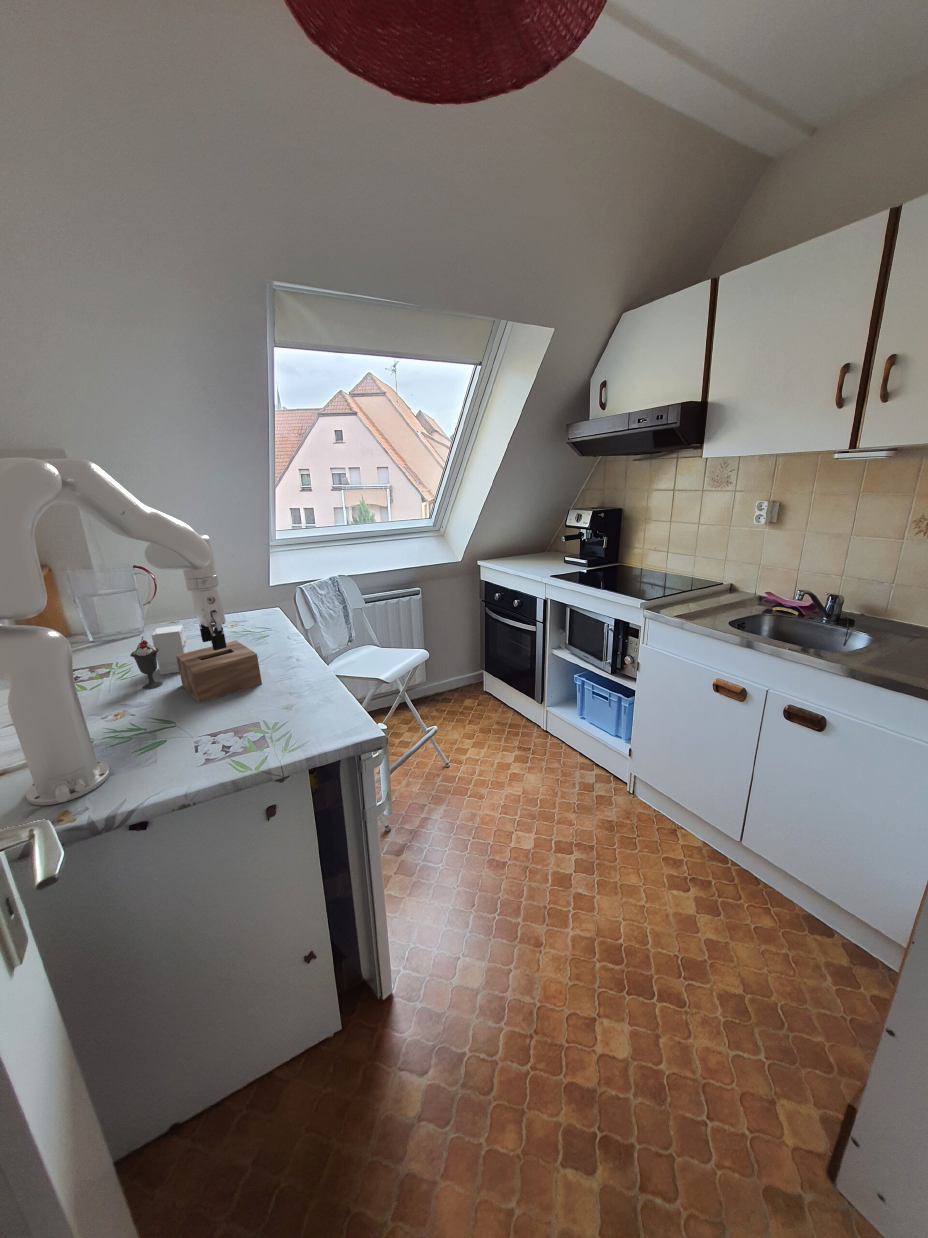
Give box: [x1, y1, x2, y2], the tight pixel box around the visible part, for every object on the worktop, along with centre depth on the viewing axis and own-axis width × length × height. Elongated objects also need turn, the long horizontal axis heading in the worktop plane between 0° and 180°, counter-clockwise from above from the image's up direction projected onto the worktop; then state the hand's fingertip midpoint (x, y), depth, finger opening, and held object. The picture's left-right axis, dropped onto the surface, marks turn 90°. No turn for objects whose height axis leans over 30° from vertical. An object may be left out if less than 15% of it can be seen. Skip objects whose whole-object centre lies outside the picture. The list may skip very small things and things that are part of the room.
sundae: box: [129, 636, 164, 690], centre depth 132 cm, size 7×7×15 cm
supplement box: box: [151, 624, 189, 675], centre depth 144 cm, size 7×7×13 cm
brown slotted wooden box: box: [176, 640, 263, 704], centre depth 132 cm, size 16×16×9 cm
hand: (214, 644), depth 130 cm, fingers open, 8 cm apart
